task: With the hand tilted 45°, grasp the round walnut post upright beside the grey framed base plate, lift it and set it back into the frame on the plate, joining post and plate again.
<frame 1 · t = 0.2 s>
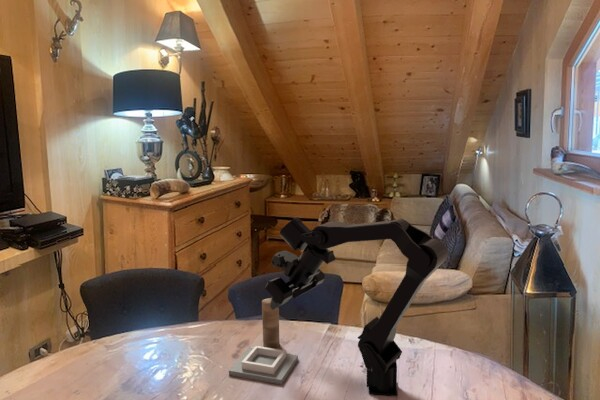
hand: (282, 302, 120), 14 cm above the table, tool tilted 35°, fingers open, 9 cm apart
grey framed base plate: (264, 366, 115), on the table
walnut post: (271, 345, 126), on the table
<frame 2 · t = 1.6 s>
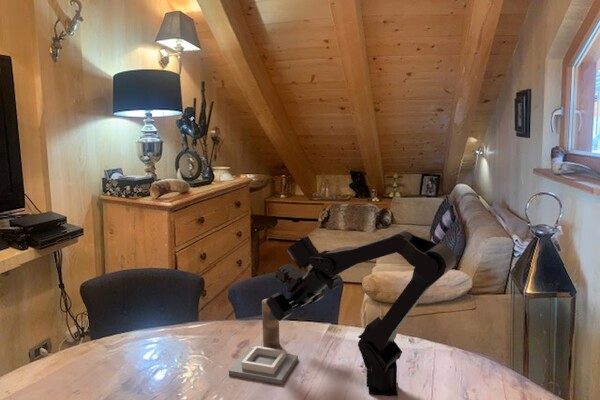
hand: (280, 312, 122), 11 cm above the table, tool tilted 45°, fingers open, 9 cm apart
nothing on the table moved.
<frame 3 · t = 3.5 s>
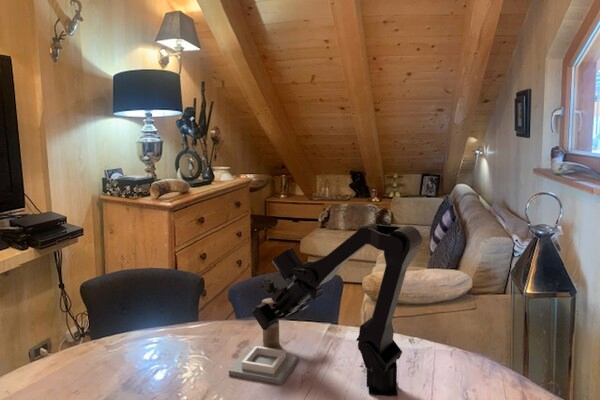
hand: (267, 321, 126), 7 cm above the table, tool tilted 45°, fingers closed on walnut post, 5 cm apart
walnut post: (271, 345, 126), on the table, touching gripper
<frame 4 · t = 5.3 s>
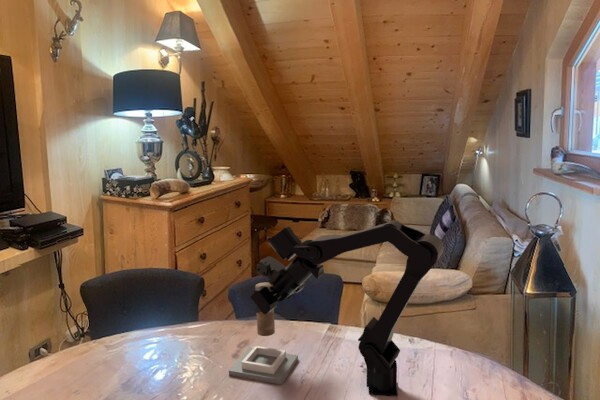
hand: (260, 307, 119), 13 cm above the table, tool tilted 45°, fingers closed on walnut post, 5 cm apart
walnut post: (266, 332, 119), point 7 cm above the table, touching gripper
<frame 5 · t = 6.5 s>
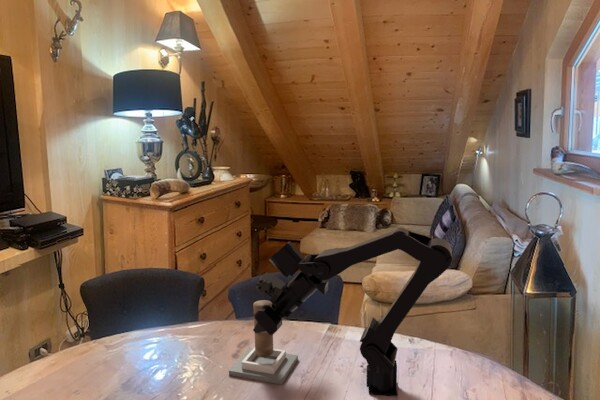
hand: (258, 327, 113), 11 cm above the table, tool tilted 45°, fingers closed on walnut post, 5 cm apart
walnut post: (264, 352, 114), point 4 cm above the table, touching gripper
when the fingers open (9 cm above the table, at t = 7.2 s): walnut post drops 1 cm, resting on grey framed base plate.
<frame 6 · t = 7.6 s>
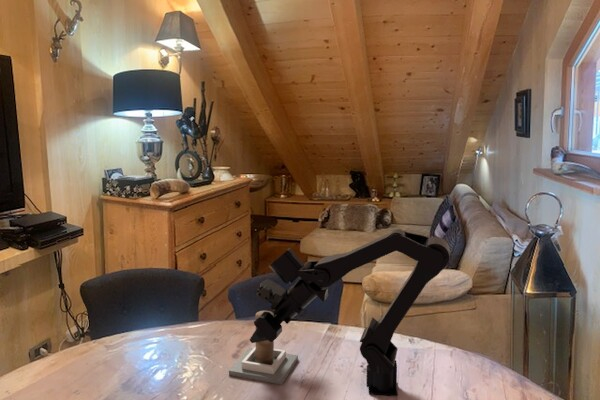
hand: (258, 333, 114), 9 cm above the table, tool tilted 45°, fingers open, 9 cm apart
walnut post: (264, 362, 114), point 1 cm above the table, touching grey framed base plate
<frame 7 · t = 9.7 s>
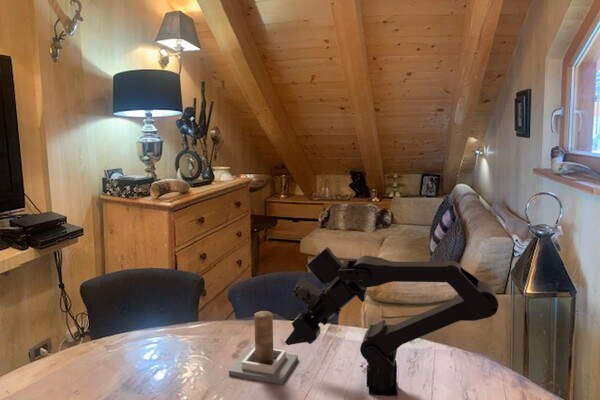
hand: (293, 334, 110), 10 cm above the table, tool tilted 45°, fingers open, 9 cm apart
nothing on the table moved.
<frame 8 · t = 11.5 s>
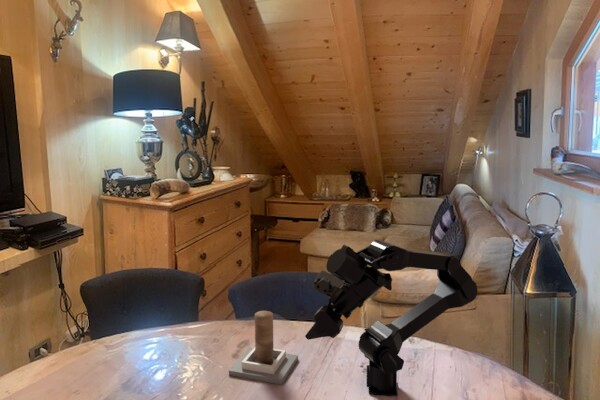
hand: (312, 328, 105), 14 cm above the table, tool tilted 45°, fingers open, 9 cm apart
nothing on the table moved.
at the end: walnut post 0.1 cm off-centre on the grey framed base plate, point 1.2 cm above the grey framed base plate's base; walnut post tilted 1°; the gripper is holding nothing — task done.
